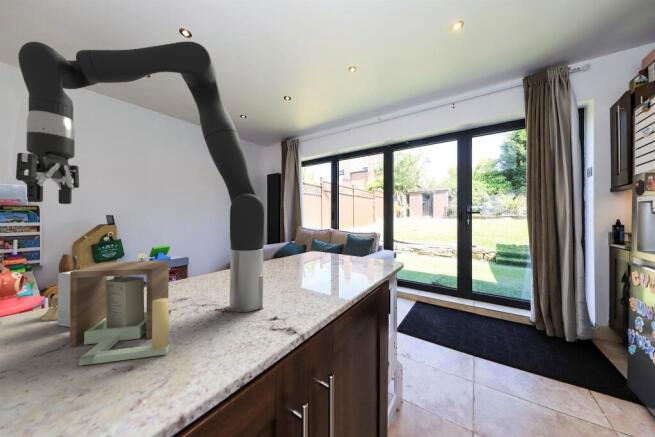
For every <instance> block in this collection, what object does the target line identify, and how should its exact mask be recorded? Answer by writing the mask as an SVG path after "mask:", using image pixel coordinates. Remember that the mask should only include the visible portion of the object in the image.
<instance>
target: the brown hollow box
mask: <svg viewBox="0 0 655 437" xmlns="http://www.w3.org/2000/svg"><path fill="white" fill-rule="evenodd" d="M169 269H170V262H169V260H165V259H163V260H137V261H136V260H135V261H133V260H132V261H106V262H99V263H96V264H92V265H89V266H85V267H81V268H79V269H76V270H72V272H70V327H69V348H77V347H78V346H80V345H81V344H82V343H84V332H86V331H87V330H89V329H90V328H91V327H93V326H94V325H96V324H97V323H99V322H100V321H102V320H103V319H105V318H106V289H105V281H106V280H107V276H114V277H117V276H121V277H124V276H139V275H140V276H141V275H145V276H146V309H145V311H146V333H145V339H147V340H148V339H151V340H152V301H154V300H156V299H160V298H168V299H169V286H170V285H169V284H170V283H169V280H170V279H169V277H170V276H169V274H170V273H169V271H170V270H169Z"/></svg>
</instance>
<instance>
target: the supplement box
mask: <svg viewBox="0 0 655 437" xmlns="http://www.w3.org/2000/svg"><path fill="white" fill-rule="evenodd" d="M72 271H73V270H72ZM72 271H70V272H72ZM70 272H64V273H59V272H58V274H57V276H58V278H57V285H58V286H57V294H58V320H57V326H61V327H62V326H63V327H66V328H67V327H68V328H70ZM111 279H115V276H107V280H111Z"/></svg>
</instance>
